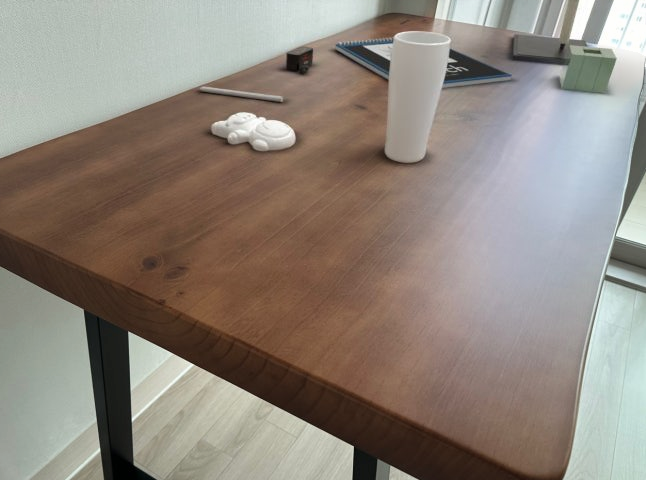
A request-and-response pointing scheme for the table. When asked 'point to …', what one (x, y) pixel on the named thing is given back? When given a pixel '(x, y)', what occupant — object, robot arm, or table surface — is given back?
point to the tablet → (541, 49)
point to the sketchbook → (457, 73)
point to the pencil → (242, 94)
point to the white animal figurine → (255, 132)
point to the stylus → (568, 22)
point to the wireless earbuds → (299, 59)
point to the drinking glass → (414, 92)
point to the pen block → (587, 68)
